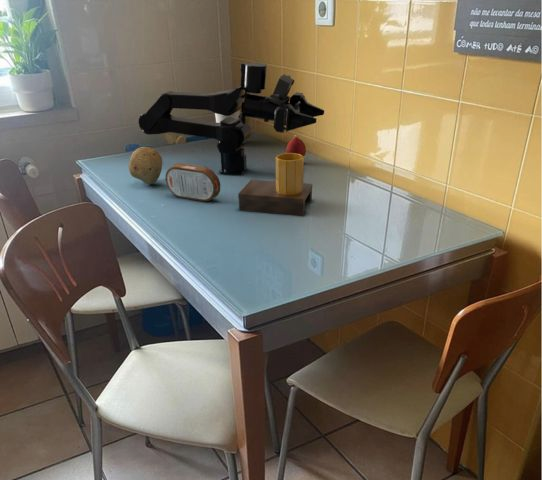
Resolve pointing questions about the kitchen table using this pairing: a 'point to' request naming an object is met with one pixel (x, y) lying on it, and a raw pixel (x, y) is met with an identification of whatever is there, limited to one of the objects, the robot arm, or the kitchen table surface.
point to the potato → (145, 165)
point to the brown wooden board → (273, 198)
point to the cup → (289, 173)
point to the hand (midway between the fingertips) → (320, 116)
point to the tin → (193, 182)
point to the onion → (296, 146)
